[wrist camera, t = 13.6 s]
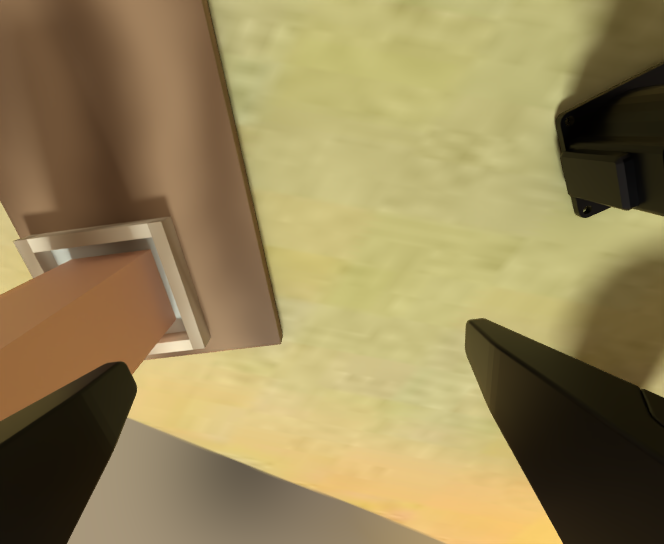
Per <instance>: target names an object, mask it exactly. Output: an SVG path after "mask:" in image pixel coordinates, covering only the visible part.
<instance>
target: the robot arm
mask: <svg viewBox="0 0 664 544" xmlns="http://www.w3.org/2000/svg"><path fill="white" fill-rule="evenodd" d="M568 117H569V123H568V125H565V120H566V118H568ZM556 129H557V134H558V139H559V143H560V148H561V152H562V154H561V157H560V159H561V163H562V168H563V172H564V177H565V182H566V186H567V191H568V194H569V195H570V196H571V198H572V203H573V208H574V212H575V214H576V215H577V216H579V217H582V218H587V217H590V216H592V215H595V214H597V213H599V212H601V211H604V210H606V209H608V208H610V207H614V208H618V209H622V210H630V209H636V210H640V211H644V212H648V213H652V214H656V215H660V216H664V62H662V63H660V64H658V65H656V66H654V67H652V68H650V69H648V70H646V71H644V72H642V73H640V74H638V75H636V76H634V77H632V78H630V79H628V80H626V81H624V82H622V83H620V84H618V85H616V86H615V87H613V88H611V89H609V90H607V91H605V92H603V93H601V94H599V95H597V96H595V97H593V98H591V99H589V100H587V101H585V102H583V103H581V104H579V105H577V106H575V107H573V108H571V109H569V110H567V111H565V112H563V113H562V114H560V115H559V116H558V118H557V120H556ZM586 206H587V209H586V211H584V212H583V209H584V208H585V207H586ZM465 351H466V355H467V358H468V360H469V363H470V365H471V367H472V370H473V372H474V375H475V377H476V379H477V382H478V384H479V387H480V389H481V391H482V394H483V396H484V399H485V401H486V403H487V405H488V408H489V410H490V412H491V414H492V416H493V418H494V419H495V421H496V423H497V425H498V427H499V428H500V430H501V432H502V434H503V436H504V438H505V439H506V441H507V443H508V445H509V447H510V448H511V450H512V452H513V454H514V456H515V457H516V459H517V461H518V463H519V465H520V466H521V468H522V470H523V472H524V474H525V475H526V477H527V479H528V481H529V483H530V485H531V486H532V488H533V490H534V492H535V494H536V495H537V497H538V499H539V501H540V503H541V504H542V506H543V508H544V510H545V512H546V513H547V515H548V517H549V519H550V521H551V522H552V524H553V526H554V528H555V530H556V531H557V533H558V535H559V537H560V539H561V541H562V542H563V544H664V398H663V397H661V396H659V395H657V394H654V393H652V392H650V391H648V390H645V389H641V390H640V388H639V387H638V386H636V385H634V384H632V383H629V382H627V381H625V380H623V379H620V378H618V377H616V376H613V375H611V374H609V373H607V372H604V371H602V370H600V369H598V368H595V367H593V366H591V365H589V364H586V363H584V362H582V361H580V360H577V359H575V358H573V357H571V356H568V355H566V354H564V353H562V352H559V351H557V350H555V349H552V348H550V347H548V346H546V345H543V344H541V343H539V342H537V341H534V340H532V339H530V338H528V337H525V336H523V335H521V334H519V333H516V332H514V331H512V330H510V329H507V328H505V327H503V326H501V325H498V324H496V323H494V322H491V321H489V320H487V319H484V318H480V319H471V320H468V321H467V323H466V333H465ZM136 393H137V385H136V383H135V380H134V378H133V376H132V374H131V372H130V370H129V368H128V366H127V364H126V363H125V362H122V361H117V362H109V363H105V364H103V365H102V366H100V367H98V368H96V369H94V370H92V371H91V372H89V373H87V374H85V375H83V376H82V377H80V378H78V379H76V380H74V381H72V382H71V383H69V384H67V385H65V386H63V387H62V388H60V389H58V390H56V391H54V392H52V393H51V394H49V395H47V396H45V397H43V398H42V399H40V400H38V401H36V402H34V403H32V404H31V405H29V406H27V407H25V408H23V409H22V410H20V411H18V412H16V413H14V414H12V415H11V416H9V417H7V418H5V419H3V420H2V421H0V544H67V542H68V540H69V538H70V536H71V534H72V532H73V530H74V528H75V526H76V524H77V523H78V521H79V519H80V517H81V515H82V512H83V511H84V508H85V507H86V505H87V503H88V500H89V499H90V497H91V495H92V493H93V491H94V489H95V487H96V485H97V483H98V481H99V479H100V477H101V475H102V473H103V471H104V469H105V467H106V465H107V463H108V461H109V459H110V457H111V455H112V453H113V451H114V448H115V446H116V444H117V441H118V439H119V436H120V434H121V431H122V429H123V426H124V423H125V421H126V419H127V416H128V414H129V411H130V409H131V406H132V404H133V401H134V399H135V396H136Z"/></svg>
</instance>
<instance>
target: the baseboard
mask: <svg viewBox="0 0 664 544" xmlns="http://www.w3.org/2000/svg"><path fill="white" fill-rule="evenodd" d="M0 201H1V203H2V205H3V207H4V208H5V210H6V212H7V214H8V216H9V218H10V220H11V222H12V223H13V225H14V227H15V229H16V231H17V233H18V235H19V237H20V238H21V239H18V240H15V241H13V242H14V244H15V246H16V248H17V250H18V252H19V253H20V255H21V257H22V259H23V261H24V263H25V264H26V266H27V268H28V270H29V272H30V274H31V275H32V277H33V278H35V277H37V276H39V275H41V274H43V273H45V272H47V271H49V270H51V269H53V268H55V267H57V266H59V265H61V264H63V263H65V262H67V261H69V260H71V259H78V258H86V257H94V256H101V255H109V254H117V253H125V252H133V251H141V250H149V249H151V252H152V254H153V257H154V260H155V262H156V265H157V268H158V271H159V273H160V276H161V279H162V281H163V284H164V287H165V290H166V292H167V295H168V298H169V300H170V303H171V306H172V308H173V311H174V314H175V317H176V320H175V322H174V323H173V324H172V325H171V327H170V328H169V329H168V330H167V332H166V333H165V334H164V335H163V337H162V338H161V339H160V340H159V342H158V343H157V344H156V345H155V347H154V348H153V349H152V350H151V352H150V353H149V354H148V355H147V357H146V358H145V359H144V360H149V359H157V358H166V357H175V356H183V355H192V354H200V353H209V352H217V351H226V350H235V349H243V348H252V347H260V346H269V345H277V344H281V342H282V337H283V335H282V330H281V326H280V321H279V317H278V312H277V308H276V304H275V299H274V295H273V290H272V286H271V281H270V277H269V273H268V268H267V264H266V259H265V255H264V250H263V246H262V242H261V237H260V233H259V228H258V224H257V219H256V215H255V211H254V206H253V202H252V197H251V193H250V189H249V184H248V180H247V175H246V171H245V166H244V162H243V158H242V153H241V149H240V144H239V140H238V135H237V131H236V127H235V122H234V118H233V113H232V109H231V104H230V100H229V96H228V91H227V87H226V82H225V78H224V73H223V69H222V65H221V60H220V56H219V51H218V47H217V42H216V38H215V34H214V29H213V25H212V20H211V16H210V11H209V7H208V3H207V0H0Z"/></svg>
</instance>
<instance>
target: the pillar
mask: <svg viewBox="0 0 664 544" xmlns="http://www.w3.org/2000/svg"><path fill="white" fill-rule="evenodd" d="M175 320H176V317H175V314H174V311H173V308H172V306H171V303H170V300H169V298H168V295H167V292H166V290H165V287H164V284H163V281H162V279H161V276H160V273H159V271H158V268H157V265H156V262H155V260H154V257H153V254H152V252H151V249H149V250H141V251H133V252H125V253H117V254H109V255H101V256H94V257H86V258H78V259H71V260H69V261H67V262H65V263H63V264H61V265H59V266H57V267H55V268H53V269H51V270H49V271H47V272H45V273H43V274H41V275H39V276H37V277H35V278H33V279H31V280H29V281H27V282H25V283H23V284H21V285H19V286H17V287H15V288H13V289H11V290H9V291H7V292H5V293H3V294H1V295H0V421H2V420H3V419H5V418H7V417H9V416H11V415H12V414H14V413H16V412H18V411H20V410H22V409H23V408H25V407H27V406H29V405H31V404H32V403H34V402H36V401H38V400H40V399H42V398H43V397H45V396H47V395H49V394H51V393H52V392H54V391H56V390H58V389H60V388H62V387H63V386H65V385H67V384H69V383H71V382H72V381H74V380H76V379H78V378H80V377H82V376H83V375H85V374H87V373H89V372H91V371H92V370H94V369H96V368H98V367H100V366H102V365H103V364H105V363H109V362H117V361H122V362H125V363H126V364H127V366H128V368H129V370H130V372H131V374H133V373H134V372H135V370H136V369H137V368H138V367H139V365H140V364H141V363H142V362H143V360H144V359H145V358H146V357H147V355H148V354H149V353H150V352H151V350H152V349H153V348H154V347H155V345H156V344H157V343H158V342H159V340H160V339H161V338H162V337H163V335H164V334H165V333H166V332H167V330H168V329H169V328H170V327H171V325H172V324H173V323H174V322H175Z"/></svg>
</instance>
